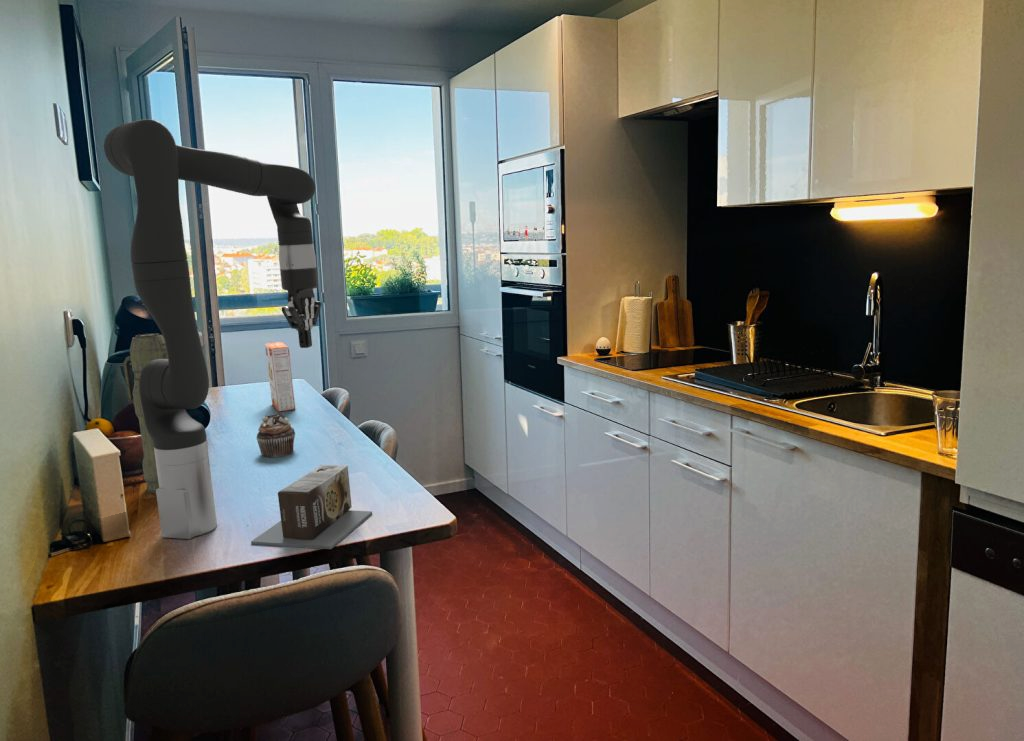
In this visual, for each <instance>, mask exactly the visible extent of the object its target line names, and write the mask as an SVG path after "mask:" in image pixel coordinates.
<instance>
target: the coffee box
mask: <svg viewBox="0 0 1024 741" xmlns="http://www.w3.org/2000/svg"><path fill="white" fill-rule="evenodd" d="M349 474H350V473H349V466H348V465H338V464H337V465H335V464H332V465H331V464H320V465H318V466H317V467H315V468H314V469H313V470H311V471H309V472H308V473H307V474H305V475H303V476H302V477H300V478H298V479H296V480H295V481H294V482H292V483H291V484H289V485H288V486H286V487H284V488H283V489H281V490H279V491H278V492H277V499H278V506H279V514H280V521H281V523H282V532H283V538H293V539H307V540H313V539H314V538H316V537H317V536H318V535H319V534H320V533H322V532H323V531H324V530H325V529H326V528H328V527H329V526H330V525H331V524H332V523H334V522H335V521H336V520H337V519H338V518H340V517H341V516H342V515H343V514H344V513H346V512H347V511H348V510H350V509H352V497H351V486H350V476H349Z"/></svg>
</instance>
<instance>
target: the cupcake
mask: <svg viewBox="0 0 1024 741" xmlns="http://www.w3.org/2000/svg"><path fill="white" fill-rule="evenodd" d="M261 419H262V423H260V426H259V427H258V432H257V434H256V440H257V444H258V447H259V451H260V454H261V456H262V457H266V458H279V457H284V456H288V455H290V454H292V453H294V442H295V436H296V432H295V428H294V427H292V426H291V423H290V421H289V418H287V417H286V415H284V414H283V413H281V412H278V413H275V414H269V415H268V414H266V415H265V416H263V417H262V418H261Z"/></svg>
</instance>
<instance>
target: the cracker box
mask: <svg viewBox="0 0 1024 741" xmlns="http://www.w3.org/2000/svg"><path fill="white" fill-rule="evenodd" d="M264 347H265V356H266V363H267V372H268V378H269V379H268V380H269V387H270V388H269V389H270V398H271V404H272V406H274V408H275V409H276V411H277V412H278V413H281V411H282V412H288V411H294V409H295V410H296V402H295V393H294V392H295V391H294V384H293V374H292V366H291V356H290V348H289V346H287V345H286V344H285V343H284V342H282V341H277V342H268V343H264Z"/></svg>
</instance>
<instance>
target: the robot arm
mask: <svg viewBox="0 0 1024 741" xmlns="http://www.w3.org/2000/svg"><path fill="white" fill-rule="evenodd" d="M103 150H104V155H105V157H106V159H107V161H108V162H109V164H110V165H111V166H112V167H113V168H114V169H115V170H117V171H118V172H120V173H121V174H124V175H126V176H129V177H133V179H134V180H133V181H134V187H135V192H136V201H137V203H136V204H137V205H136V206H137V209H136V217H135V223H134V227H133V231H132V232H133V233H132V238H131V243H130V262H131V270H132V275H133V276H132V277H133V283H134V288H135V290H136V293H137V295H138V297H139V299H140V301H141V303H142V304H143V306H144V308H145V309H146V310H147V312H148V313H149V315H150V316H151V318H152V319H153V321H154V322H155V324H156V325H157V327H158V328H159V330H160V332H161V335H162V336H163V338H164V340H165V344H166V349H167V354H168V359H157V360H153V361H150V362H149V363H147V364H146V365H145V367H144V368H143V370H142V372H141V375H140V379H139V392H140V399H141V404H142V409H143V414H144V419H145V425H146V429H147V431H148V433H149V435H150V437H151V438H152V440H153V446H154V452H155V459H156V467H157V474H158V482H159V488H158V489H157V490H156V493H155V494H156V503H157V510H158V516H159V523H160V530H161V537H162V538H167V539H168V538H169V539H182V540H184V539H186V540H191V539H192V538H194V537H197V536H201V535H204V534H207V533H210V532H211V531H213V530H214V529H216V527H217V525H218V522H217V513H216V504H215V503H216V502H215V498H214V489H213V480H212V472H211V464H210V457H209V447H208V441H207V431H206V427H205V426H204V424H202V423H201V422H199V421H197V420H196V419H194V418H192V416H191V415H190V414H189V413H188V412H187V410H195V409H197V408H200V407H201V406H202V405H203V404H204V403H205V402H206V399H208V398H207V397H208V394H209V389H210V378H209V372H208V367H207V362H206V358H205V354H204V351H203V346H202V343H201V338H200V334H199V330H198V324H197V320H196V318H197V317H196V312H195V307H194V301H193V295H192V288H191V287H192V285H191V277H190V276H191V275H190V267H189V260H188V254H187V250H186V244H185V235H184V227H183V219H182V213H181V205H180V190H179V188H180V185H179V184H180V183H179V180H180V181H187V182H192V183H196V184H200V185H206V186H209V187H212V188H218V189H222V190H227V191H229V192H235V193H238V194H242V195H243V194H244V195H248V196H252V197H253V196H254V197H266V198H267V201H268V205H269V208H270V210H271V214H272V216H273V219H274V222H275V224H276V227H277V228H276V230H277V238H278V239H277V242H278V262H279V272H280V281H281V282H280V283H281V288H282V290H284V291H287V299H286V300H287V305H286V306H282V307H281V312H282V314H283V316H284V317H285V320H286V321H287V323H288V325H289V327H290V328H291V329H294V330H296V331H297V333H298V344H299V347H300V348H301V349H308V348H310V347H312V346H313V338H312V329H313V326H316V325H317V323H318V319H319V316H320V312H321V307H322V302H321V301H318V300H316V296H315V293H314V289H317V288H318V287H319V278H318V269H317V268H318V267H317V257H316V252H315V246H314V239H313V228H312V223H311V219H310V218H308V217H307V216H304V215H302V214H301V213H300V210H299V209H300V208H299V207H298V204H300V205H301V204H305V203H307V202H309V201H310V200H311V199H312V198H313V197H314V195H315V192H316V183H315V180H314V178H313V177H312V175H310V173H308V172H307V171H306V170H304V169H302V168H299V167H296V166H290V165H283V164H278V163H277V164H275V163H266V162H263V161H260V160H258V159H254V158H250V157H246V156H242V155H238V154H234V153H229V152H224V151H216V150H207V149H199V148H194V147H188V146H183V145H179V144H176V141H175V138H174V136H173V135H172V132H171V131H170V129H168V128H167V127H166V125H164V124H163V123H162V122H160V121H158V120H156V119H152V118H145V119H138V120H134V121H129V122H126V123H122V124H120V125H118V126H115V127H114V128H113V129H111V130H110V131H109V132H108V133H107V135H106V136H105V139H104V144H103Z"/></svg>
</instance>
